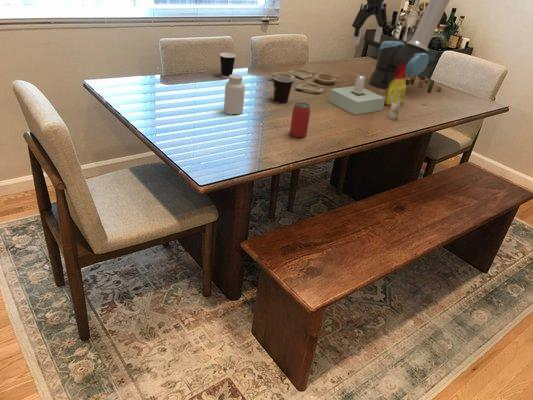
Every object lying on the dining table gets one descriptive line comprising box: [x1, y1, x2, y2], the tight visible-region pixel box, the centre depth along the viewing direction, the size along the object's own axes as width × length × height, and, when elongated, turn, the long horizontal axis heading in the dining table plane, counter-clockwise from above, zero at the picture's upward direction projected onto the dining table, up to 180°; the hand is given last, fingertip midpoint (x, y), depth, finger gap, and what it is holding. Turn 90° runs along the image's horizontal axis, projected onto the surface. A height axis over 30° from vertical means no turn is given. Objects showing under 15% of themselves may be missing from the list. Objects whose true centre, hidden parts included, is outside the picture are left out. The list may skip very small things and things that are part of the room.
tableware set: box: [268, 67, 341, 94], centre depth 227 cm, size 35×29×4 cm
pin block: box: [327, 85, 385, 116], centre depth 202 cm, size 18×18×6 cm
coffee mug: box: [273, 76, 294, 104], centre depth 198 cm, size 12×9×10 cm
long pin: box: [353, 74, 367, 96], centre depth 200 cm, size 4×4×14 cm
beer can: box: [289, 101, 311, 138], centre depth 165 cm, size 7×7×12 cm
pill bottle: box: [223, 73, 246, 115], centre depth 177 cm, size 8×8×15 cm
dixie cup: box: [219, 52, 236, 79], centre depth 218 cm, size 8×8×11 cm
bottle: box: [384, 63, 407, 106], centre depth 207 cm, size 12×6×20 cm, turn 120°
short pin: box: [387, 102, 402, 121], centre depth 193 cm, size 4×4×7 cm
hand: (366, 43), depth 197 cm, fingers open, 13 cm apart
